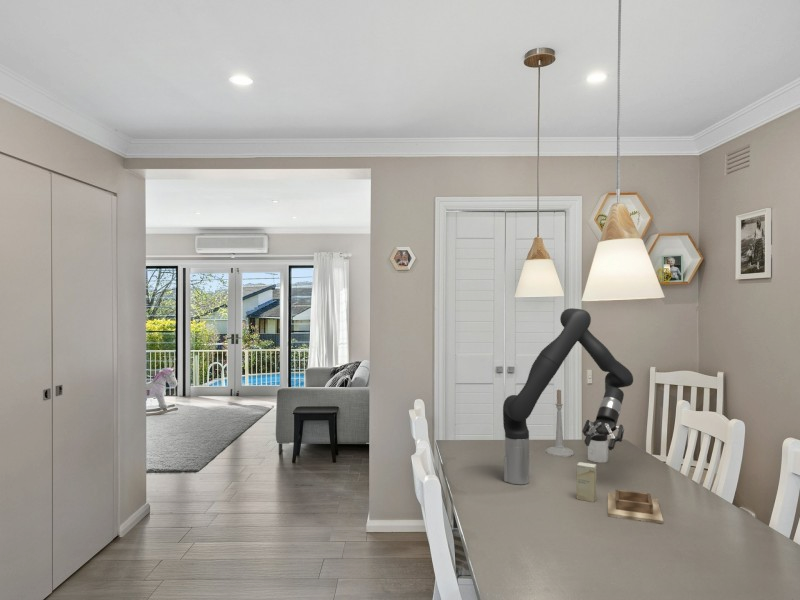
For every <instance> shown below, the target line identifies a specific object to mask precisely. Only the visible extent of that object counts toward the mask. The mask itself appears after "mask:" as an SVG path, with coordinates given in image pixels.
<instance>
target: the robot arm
mask: <svg viewBox="0 0 800 600" xmlns="http://www.w3.org/2000/svg"><path fill="white" fill-rule="evenodd" d="M559 319H560V323H561V325H562V327H563V329H562V331H561V332H560V333H559V335H558V336H557V337H556V338H555V339H554V340H553V341H551V342H549V344H547V345H546V346H545V347H544V348H542V350H541V351H540V353H539V354H538V356H536V359H535V360H534V361H533V363H532V365H531V368H530V369H529V372H528V377H527V379H526V381H525V384H524V385H523V387H522V389H520V391H519V393H518V394H511V395H509V396H507V397H506V398H505V400H504V402H503V405H502V418H503V419H502V420H503V429H504V452H505V453H504V454H505V455H504V457H503V480H504V481H503V482H505V483H506V482H507V483H508V484H512V485H526V484H529V483H530V430H529V428H528V426H527V425H528V424H527V419H528V418H529V417H530V416H531V414H532V412H533V410H534V409H535V406H536V405H537V403H538V400H539V398H540V397H541V395H543V392H544V391H545V390H546V388H547V387H548V385H549V383H551V380H552V379H554V377H555V375H556V373H557V372H558V371H559V369H560V367H562V364H563V363H564V361H565V360H566V358H567V357H568V355H569V354H570V352H571V351H572V350H573V348H574V347H575V345H576V344H577V343H579V344H580V345H581V346H582V347H583V348H584V350H585V351H586V352H587V353H588V354H589V356H590V357H591V358H592V360H593V361H594V362H595V363H596V365H597V366H598V368H600V370H601V371H602V372H605V373H607V374H606V375H605V378H604V395H603V397H602V400H601V402H600V405H599V407H598V411H597V415H596V418H595V421H590V419H587V420H586V421H585V424H584V426H583V429H582V431H581V432H582V433H583V434H582V435H584V437H585V438H584V444H585V446H586V447H588V446H589V444H590V441H591V437H593V436H594V435H595V436H596V435H597V434H598V433H599V434H604V435H607V436H608V435H609V437H610V439H609V441H608V451H613V450H614V448H615V445H616V443H617V442H619V443H621V442H622V441H623V438H624V433H625V432H624V431H625V428H624V426H623V424H619V425H618V420H619V417H620V414H621V409H622V405H623V401H624V396H625V394H624V391H623V390H622V389H620V388H627V387H631V385H633V382H634V376H633V374H632V372H631V371H630V370H629V369H628V367H626V366H625V365H623V364H622V363H621V362H620V361H618V360H617V359H616V358H615V357H614V356H613V354H612V352H610V350H609V349H608V347H606V346H605V345H604V344H603V342H601V341H600V340H599V339H598V338H596V337H595V336H594V334H592V333H591V331H590V330H589V327H590V326H591V322H592V317H591V314H590V313H589V311H587V310H586V309H581V308H573V307H572V308H566V309H564V310H563V311H562V312H561V314H560V318H559ZM616 430H617V434H616V436H615V434H614V431H616Z"/></svg>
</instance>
